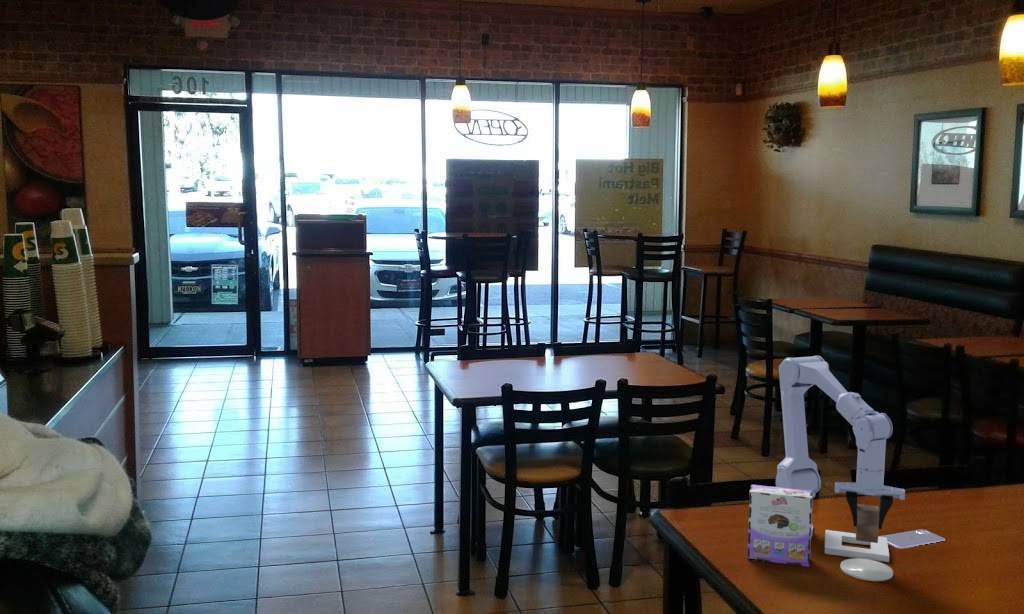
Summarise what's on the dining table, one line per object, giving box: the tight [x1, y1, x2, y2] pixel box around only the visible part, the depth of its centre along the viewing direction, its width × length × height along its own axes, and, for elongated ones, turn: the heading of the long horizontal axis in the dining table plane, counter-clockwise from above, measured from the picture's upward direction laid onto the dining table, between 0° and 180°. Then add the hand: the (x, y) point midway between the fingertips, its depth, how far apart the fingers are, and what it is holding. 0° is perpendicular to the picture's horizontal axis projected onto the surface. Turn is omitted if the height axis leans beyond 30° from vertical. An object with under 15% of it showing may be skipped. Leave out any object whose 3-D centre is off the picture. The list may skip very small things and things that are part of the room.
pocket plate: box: [824, 529, 890, 563], centre depth 216 cm, size 14×12×2 cm
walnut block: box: [855, 503, 880, 543], centre depth 205 cm, size 4×4×7 cm
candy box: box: [746, 484, 813, 568], centre depth 209 cm, size 14×6×16 cm, turn 71°
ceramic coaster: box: [839, 558, 894, 582], centre depth 203 cm, size 11×11×1 cm
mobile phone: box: [880, 528, 946, 550], centre depth 222 cm, size 8×1×15 cm
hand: (867, 526), depth 204 cm, fingers closed on walnut block, 4 cm apart
